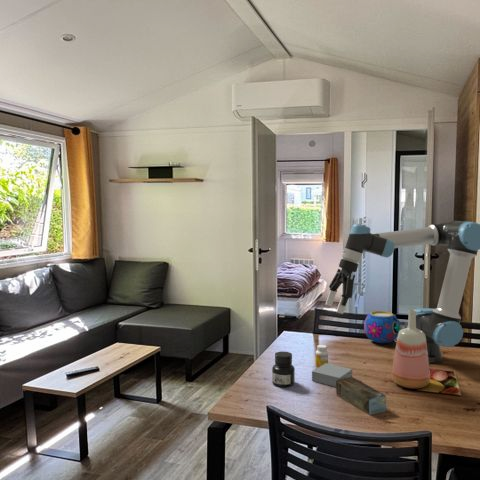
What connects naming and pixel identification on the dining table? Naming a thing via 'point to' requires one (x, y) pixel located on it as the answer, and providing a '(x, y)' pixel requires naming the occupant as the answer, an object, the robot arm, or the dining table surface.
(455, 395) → the dining table surface
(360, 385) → the beverage carton
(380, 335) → the ceramic pot
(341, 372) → the base block
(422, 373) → the vase
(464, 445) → the dining table surface
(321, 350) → the supplement bottle
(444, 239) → the robot arm
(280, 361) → the ink bottle
